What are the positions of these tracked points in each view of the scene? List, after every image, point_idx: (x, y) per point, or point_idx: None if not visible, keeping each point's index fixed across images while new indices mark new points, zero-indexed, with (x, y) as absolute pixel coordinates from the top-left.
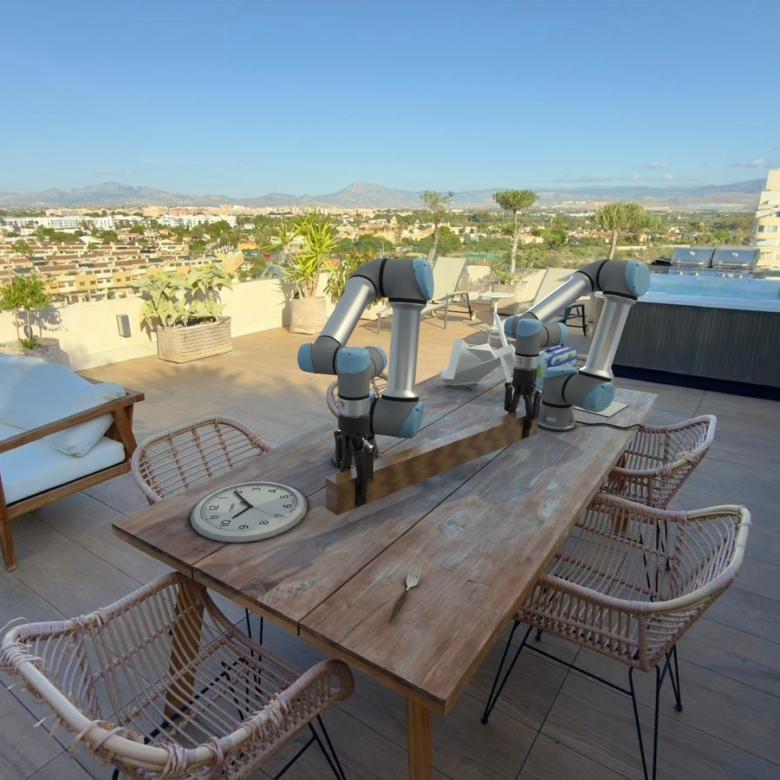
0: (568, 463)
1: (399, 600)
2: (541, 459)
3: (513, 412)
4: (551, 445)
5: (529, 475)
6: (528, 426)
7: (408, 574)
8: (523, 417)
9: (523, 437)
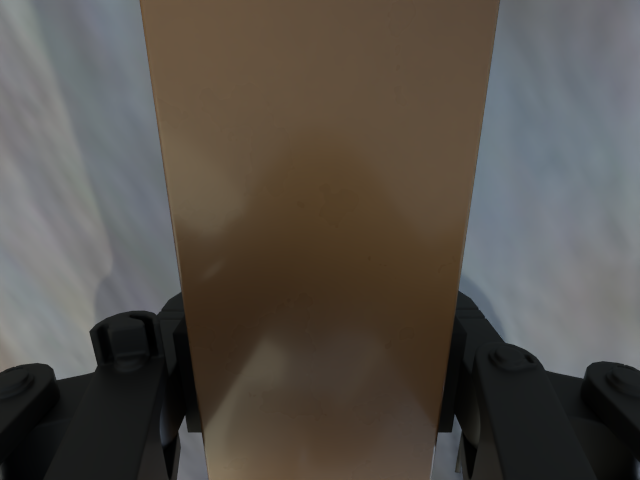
0: (84, 325)
1: None
2: None
3: (437, 376)
4: None
5: (70, 10)
6: (180, 308)
7: None
8: (194, 335)
9: None
